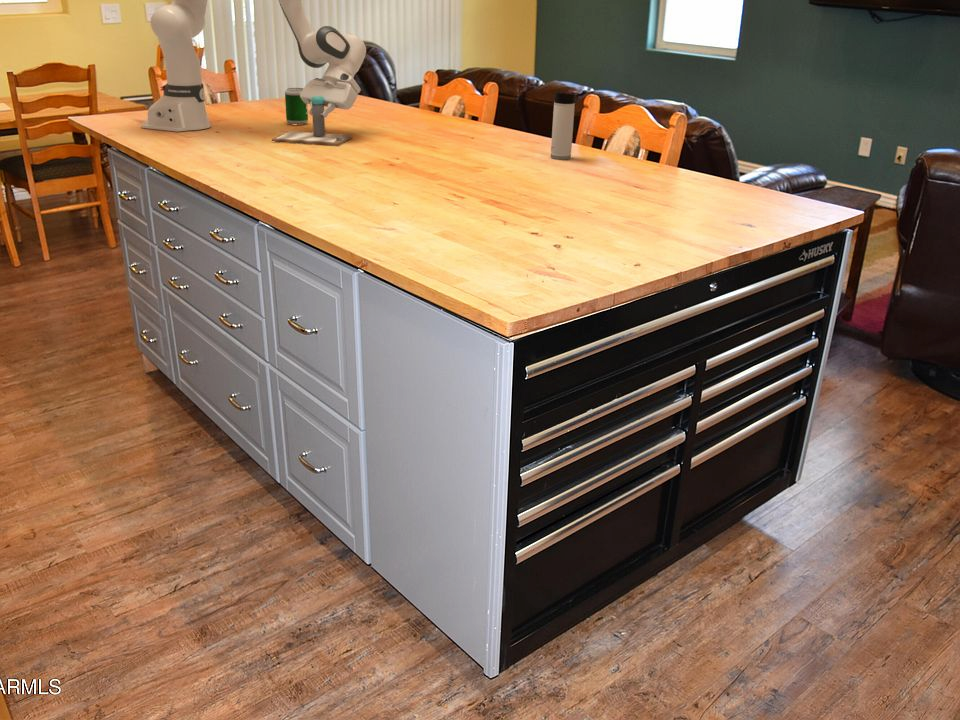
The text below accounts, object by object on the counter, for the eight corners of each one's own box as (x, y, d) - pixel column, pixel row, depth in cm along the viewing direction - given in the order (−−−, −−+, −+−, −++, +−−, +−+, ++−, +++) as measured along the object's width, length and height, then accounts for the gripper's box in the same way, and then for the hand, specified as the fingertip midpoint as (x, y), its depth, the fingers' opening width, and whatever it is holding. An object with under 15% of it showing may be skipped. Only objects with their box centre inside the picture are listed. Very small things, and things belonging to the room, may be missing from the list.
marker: (311, 135, 291) (309, 97, 286) (315, 133, 295) (313, 95, 290) (323, 136, 290) (321, 98, 286) (326, 134, 294) (325, 96, 289)
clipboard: (271, 141, 287) (271, 136, 286) (287, 133, 301) (287, 128, 300) (338, 146, 284) (338, 140, 284) (351, 137, 298) (351, 132, 297)
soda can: (305, 126, 314) (304, 90, 309) (284, 125, 314) (282, 89, 309) (310, 122, 321) (308, 87, 316) (289, 121, 321) (287, 86, 316)
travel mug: (546, 158, 278) (551, 91, 269) (555, 154, 283) (559, 89, 275) (565, 161, 275) (570, 93, 267) (573, 157, 280) (578, 91, 272)
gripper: (307, 71, 295) (288, 105, 292) (355, 77, 285) (335, 112, 282) (317, 84, 301) (298, 117, 297) (364, 90, 291) (345, 125, 287)
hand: (317, 115), depth 289 cm, fingers closed on marker, 4 cm apart
